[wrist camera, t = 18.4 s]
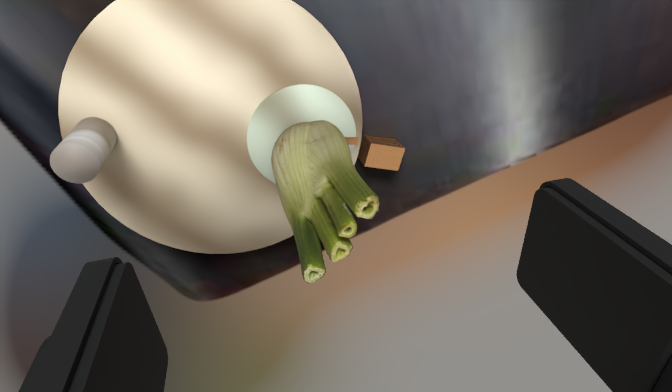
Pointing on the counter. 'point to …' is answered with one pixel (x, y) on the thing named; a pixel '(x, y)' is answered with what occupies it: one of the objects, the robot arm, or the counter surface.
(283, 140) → the fennel bulb
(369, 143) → the wooden block
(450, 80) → the counter surface
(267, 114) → the serving platter
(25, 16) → the counter surface
